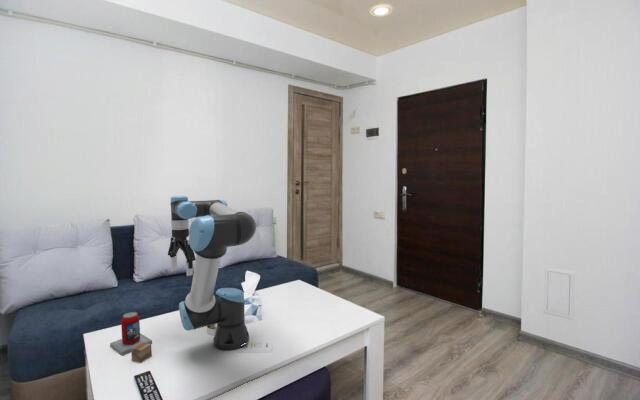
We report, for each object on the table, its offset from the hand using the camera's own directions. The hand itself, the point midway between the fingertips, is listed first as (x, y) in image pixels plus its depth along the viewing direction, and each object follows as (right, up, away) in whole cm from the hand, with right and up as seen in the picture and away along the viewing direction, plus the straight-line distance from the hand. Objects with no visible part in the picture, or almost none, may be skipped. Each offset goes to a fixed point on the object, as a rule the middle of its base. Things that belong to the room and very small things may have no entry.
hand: (181, 272), depth 158 cm
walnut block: (-6, -29, -25) cm, 39 cm away
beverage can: (-15, -27, -15) cm, 34 cm away
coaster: (-16, -28, -15) cm, 35 cm away
